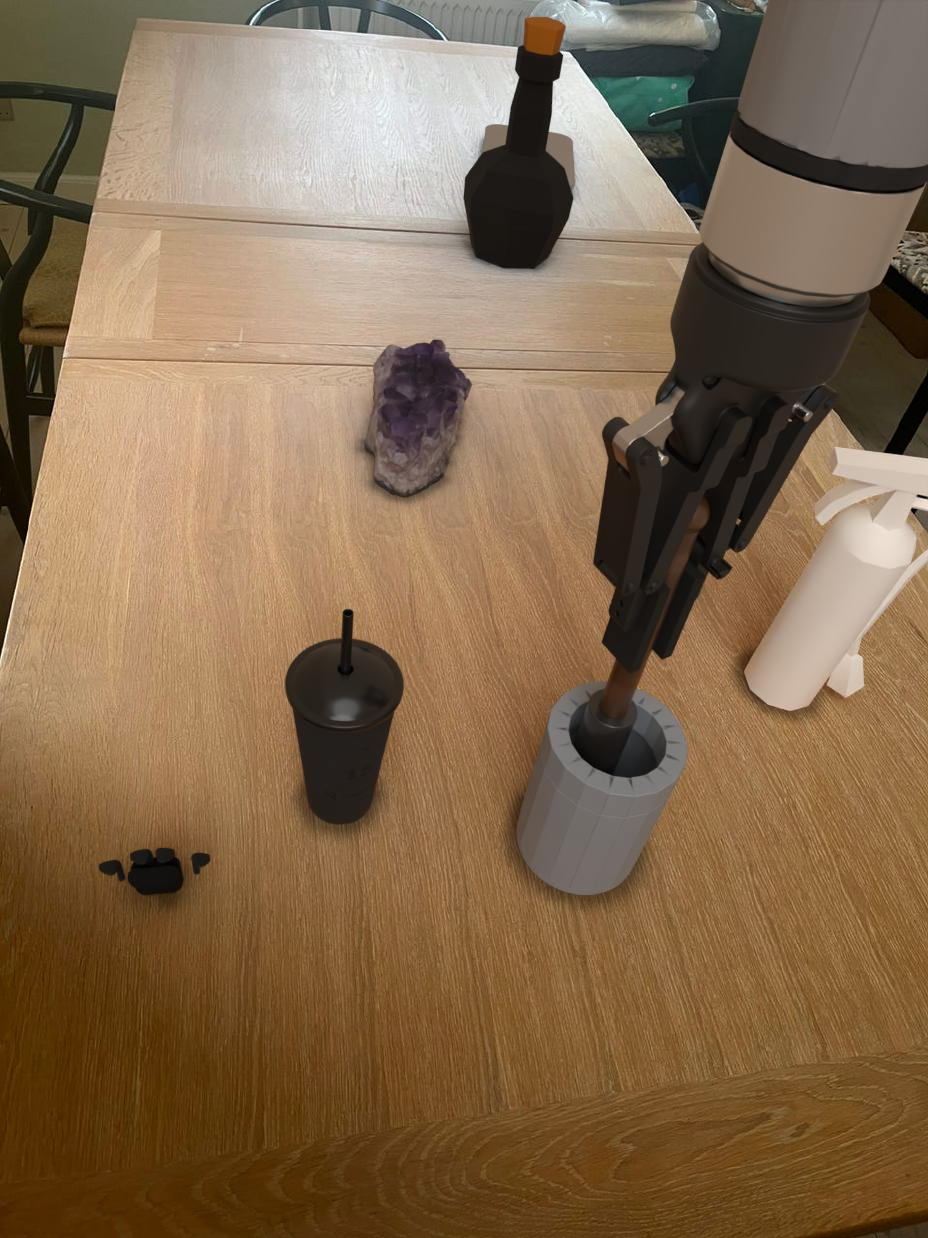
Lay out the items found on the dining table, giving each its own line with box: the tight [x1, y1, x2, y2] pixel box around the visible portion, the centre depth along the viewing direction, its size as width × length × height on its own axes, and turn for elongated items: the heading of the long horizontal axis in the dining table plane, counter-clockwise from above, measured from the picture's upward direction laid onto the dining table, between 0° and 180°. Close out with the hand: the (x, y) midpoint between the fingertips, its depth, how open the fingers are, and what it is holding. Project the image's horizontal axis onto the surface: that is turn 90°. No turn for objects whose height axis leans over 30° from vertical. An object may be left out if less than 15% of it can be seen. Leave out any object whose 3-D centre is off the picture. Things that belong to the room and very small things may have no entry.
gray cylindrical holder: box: [515, 680, 689, 896], centre depth 65 cm, size 9×9×13 cm
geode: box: [364, 338, 473, 498], centre depth 98 cm, size 20×12×10 cm, turn 178°
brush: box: [573, 497, 710, 776], centre depth 55 cm, size 3×3×26 cm
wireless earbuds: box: [98, 847, 211, 896], centre depth 60 cm, size 7×2×5 cm, turn 100°
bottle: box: [462, 16, 575, 269], centre depth 128 cm, size 16×16×30 cm
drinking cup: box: [284, 608, 405, 825], centre depth 62 cm, size 8×8×20 cm
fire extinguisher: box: [743, 446, 928, 712], centre depth 74 cm, size 7×12×25 cm, turn 79°
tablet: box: [481, 123, 576, 190], centre depth 162 cm, size 16×26×2 cm, turn 176°
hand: (636, 648), depth 54 cm, fingers closed on brush, 2 cm apart
